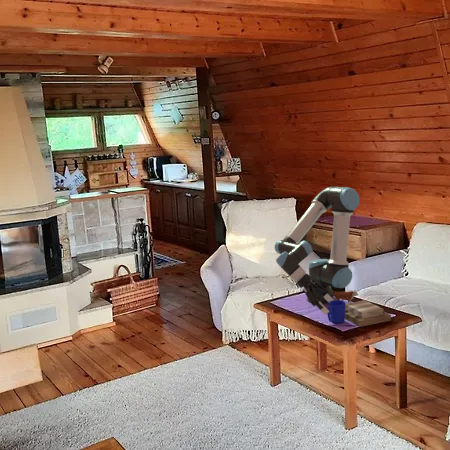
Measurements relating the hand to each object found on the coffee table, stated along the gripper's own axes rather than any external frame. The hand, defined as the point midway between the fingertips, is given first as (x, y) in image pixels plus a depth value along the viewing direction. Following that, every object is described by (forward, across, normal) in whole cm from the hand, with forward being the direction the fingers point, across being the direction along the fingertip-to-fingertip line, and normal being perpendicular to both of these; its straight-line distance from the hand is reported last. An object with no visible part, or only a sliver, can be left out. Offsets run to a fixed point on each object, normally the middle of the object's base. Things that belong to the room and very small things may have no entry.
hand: (330, 308), depth 281 cm
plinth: (+15, -12, +5) cm, 20 cm away
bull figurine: (+5, -31, -5) cm, 32 cm away
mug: (+7, -1, -4) cm, 8 cm away
